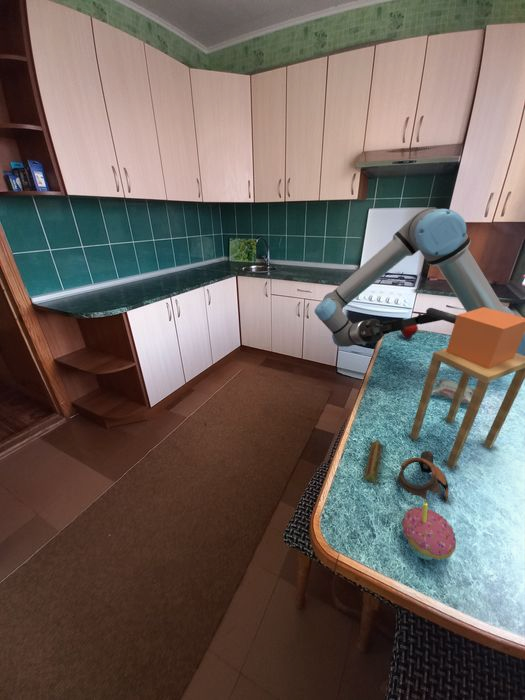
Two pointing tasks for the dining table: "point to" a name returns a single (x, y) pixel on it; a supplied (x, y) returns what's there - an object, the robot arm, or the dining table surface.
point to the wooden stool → (485, 376)
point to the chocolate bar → (373, 462)
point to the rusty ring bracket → (427, 467)
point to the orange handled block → (483, 335)
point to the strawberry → (409, 331)
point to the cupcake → (428, 533)
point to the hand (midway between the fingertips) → (422, 319)
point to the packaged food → (452, 391)
